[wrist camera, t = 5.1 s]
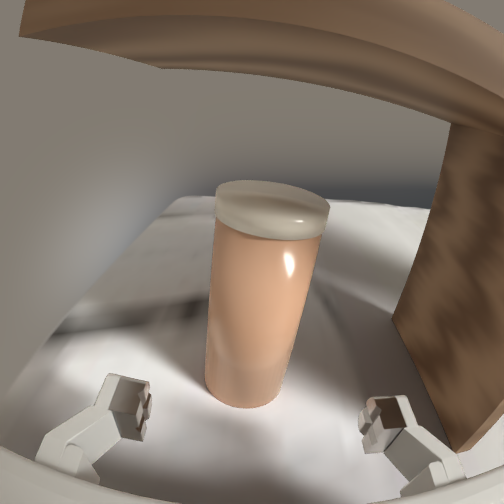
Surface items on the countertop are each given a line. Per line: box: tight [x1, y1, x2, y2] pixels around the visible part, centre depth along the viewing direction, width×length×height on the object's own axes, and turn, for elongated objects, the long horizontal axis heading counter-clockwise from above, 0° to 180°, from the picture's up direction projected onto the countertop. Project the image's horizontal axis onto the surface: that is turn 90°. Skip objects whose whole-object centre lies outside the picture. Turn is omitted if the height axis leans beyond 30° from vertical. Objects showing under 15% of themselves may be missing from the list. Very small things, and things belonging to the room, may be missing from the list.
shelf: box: [19, 0, 504, 454], centre depth 16 cm, size 15×23×20 cm, turn 89°
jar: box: [205, 180, 330, 408], centre depth 17 cm, size 5×5×12 cm
